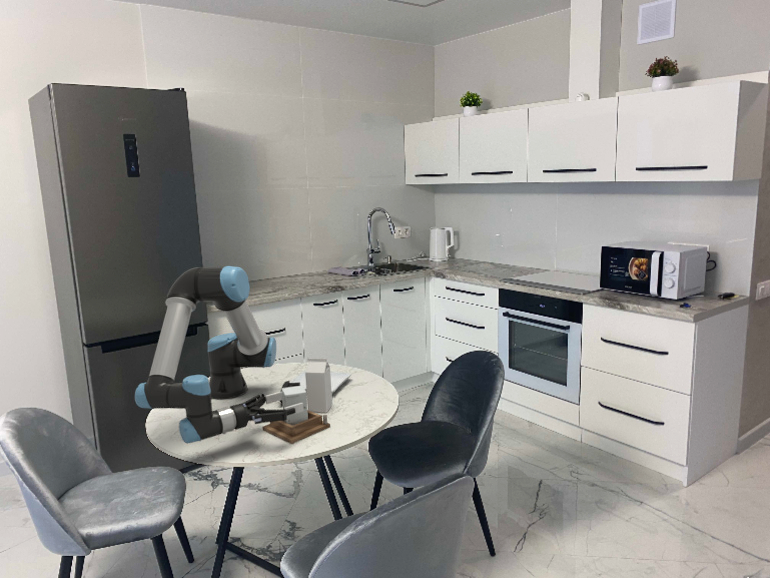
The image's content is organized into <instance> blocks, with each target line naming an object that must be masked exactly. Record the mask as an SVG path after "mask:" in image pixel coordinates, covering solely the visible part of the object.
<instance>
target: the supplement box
mask: <svg viewBox="0 0 770 578" xmlns="http://www.w3.org/2000/svg"><path fill="white" fill-rule="evenodd" d="M281 388H282V387H281ZM281 388H280V391H281V390H282V403H283V404H282V409H284V408H285V407H289V406H292V405H295V404H299V403H303V408H304V411H303V412H299V413H296V414H293V415H289V416H287V420H284V422H285V423H288V424H290V425H292V426H293V425H296V424H298V423H301V422H303V421H306V420H308V411H307V410H308V405H307V393H306V391H305V389H304V387H303V385H302V386H295V387H288V388H282V389H281Z"/></svg>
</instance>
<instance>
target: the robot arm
mask: <svg viewBox="0 0 770 578" xmlns="http://www.w3.org/2000/svg"><path fill="white" fill-rule="evenodd" d="M250 286H251V285H250V282H249V277H248V274H247V272H246V271H245V270H244V269H243V268H242V267H239V266H232V265H226V266H225V265H224V266H204V267H203V266H198V267H197V266H196V267H193V268H190V269H188V270H186V271H184V272H182V274H181V275H180V276H179V277H177V279H176V280H175V281H174V283H173V284H172V285H171V287H170V289H169V290H168V293H167V295H166V299H165V302H164V304H165V306H167V309H166V310H165V312H166V313H165V315H164V319H163V323H162V327H161V330H160V334H159V337H158V338H159V339H158V342H157V346H156V349H155V352H154V356H153V360H152V363H151V368H150V371H149V375H148V379H147V382H141V383H139V384H138V385H137V387H136V389H135V392H134V401H135V403H136V406H138V408H142V409H151V410H155V409H184V410H185V417H184V418H182V419H181V420H179V422H178V424H179V425H178V430H179V434H180V438H181V440H182V441H183V442H184V444H191V443H196V442H202V441H204V440H207V439H209V438H213V437H216V436H220V435H226V434H227V433H230V432H232V431H234V430H235V431H236V430H239V429H240V430H241V429H243V428H246V427H247V426H248V424H249V422H251V421H253V422H254V425H259V424H262V423H264V424H265V423H270V422H275V421H284V420H287V416H289V415H293V414H296V413H299V412H303V411H304V408H303V403H299V404H295V405H292V406H289V407H285V408H284V409H283V408H281V409H280V408H278V409H277V408H275V409H265V408H264V407H263V406H264V405H265V404H266V405H268V404H273V403H276V402H280V400H282V392H280V391H278V392H275V393H271V394H267V395H265V393H261V394H257V395H256V396H253V397H252V398H249V399H247V400H246V401H244V402H241V403H237V404H236V403H235V404H233V405H230V406H229V407H228V406H226V407H221V408H219V409H218V408H217V409H215V410H213V406H212V405H213V404H212V399H215V400H226V399H233V398H238V397H239V396H243V395H244V394H246V392H247V391H248V387H247V382H246V380H245V378H244V375H243V373H242V371H241V370H242V369H241V368H260V369H261V368H263V369H265V368H271V367H272V366H274V364H275V362H276V356H277V339H276V337H272V336H269V337H268V335H267V334H266V332H265V331H263V330H261V329H260V328H259V326H258V323H257V321H256V318H255V317H254V314H253V312H252V311H251V309H250V306H249V304H248V302H247V300H248V297H249V295H250V292H251V291H250V288H251V287H250ZM198 303H213V305H214V307H215V308H216V309H217V310H219V311H220V312H222V313H223V314H224V316H225V317H226V319H227V321H228V324H229V325H230V327H231V329H232V331H233V332H229V333H221V334H219V335H216V336H213V337H211V338H210V339H209V340H208V342H207V353H208V364H209V374H210V378H208V377H207V376H206V375H204V374H195V375H189V376H186V377H184V378H183V380H182V382H175V379H176V374H177V372H178V371H177V370H178V366H179V364H180V363H179V362H180V358H181V355H182V352H183V346H184V342H185V340H186V339H185V338H186V335H187V331H188V327H189V323H190V319H191V315H192V313H193V312H194V311H195V310H196V309H197V304H198Z"/></svg>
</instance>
